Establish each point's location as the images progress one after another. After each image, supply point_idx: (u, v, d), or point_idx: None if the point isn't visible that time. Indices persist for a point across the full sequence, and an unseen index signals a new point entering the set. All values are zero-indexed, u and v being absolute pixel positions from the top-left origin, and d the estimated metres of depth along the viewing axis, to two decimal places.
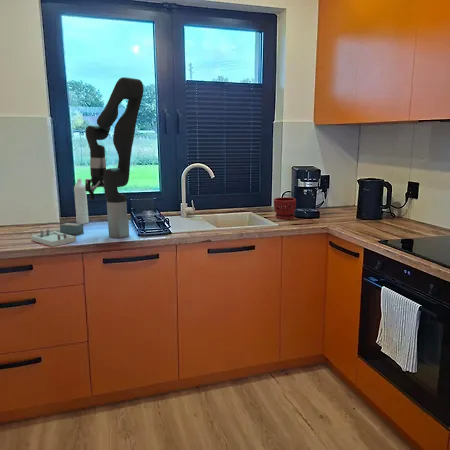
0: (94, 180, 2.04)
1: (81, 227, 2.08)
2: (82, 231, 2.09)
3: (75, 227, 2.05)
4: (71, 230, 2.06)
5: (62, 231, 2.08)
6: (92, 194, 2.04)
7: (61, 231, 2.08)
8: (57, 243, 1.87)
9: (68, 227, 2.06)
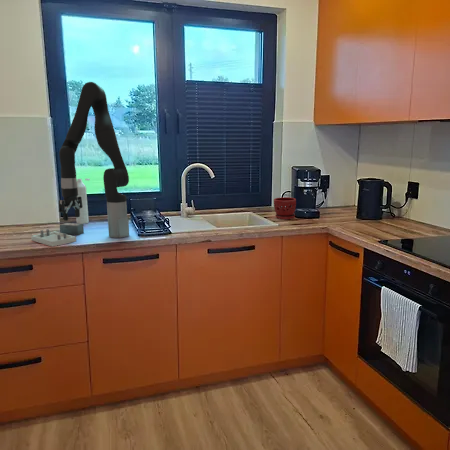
0: None
1: (81, 227, 2.08)
2: (82, 231, 2.09)
3: (76, 227, 2.05)
4: (72, 230, 2.06)
5: (62, 231, 2.07)
6: None
7: (61, 231, 2.07)
8: (57, 243, 1.87)
9: (68, 227, 2.06)
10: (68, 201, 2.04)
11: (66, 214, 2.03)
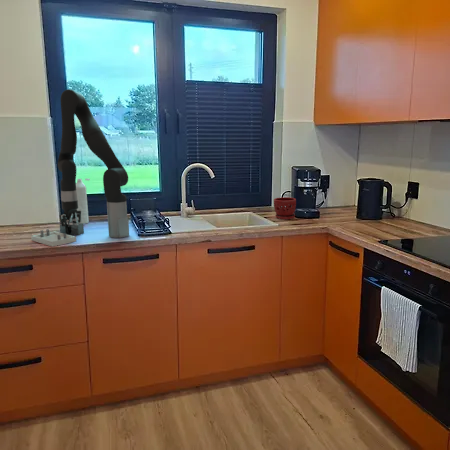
0: None
1: (82, 226, 2.08)
2: (82, 230, 2.09)
3: (76, 226, 2.05)
4: (72, 230, 2.06)
5: (62, 231, 2.07)
6: None
7: (61, 231, 2.07)
8: (57, 243, 1.87)
9: None
10: (68, 215, 2.04)
11: (68, 228, 2.05)
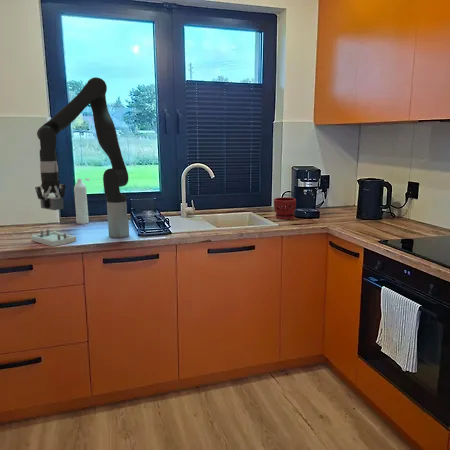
0: None
1: (60, 201, 1.92)
2: (62, 206, 1.92)
3: (52, 200, 1.89)
4: (49, 204, 1.90)
5: (42, 204, 1.94)
6: None
7: (41, 204, 1.94)
8: (57, 243, 1.87)
9: (47, 200, 1.91)
10: (46, 187, 1.89)
11: (46, 201, 1.90)
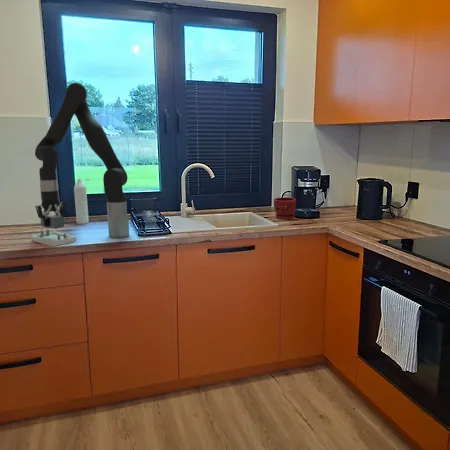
0: None
1: (60, 219, 1.91)
2: (62, 224, 1.92)
3: (53, 219, 1.89)
4: (50, 222, 1.90)
5: (42, 223, 1.93)
6: None
7: (41, 223, 1.93)
8: (57, 243, 1.87)
9: None
10: (46, 206, 1.89)
11: (46, 220, 1.90)
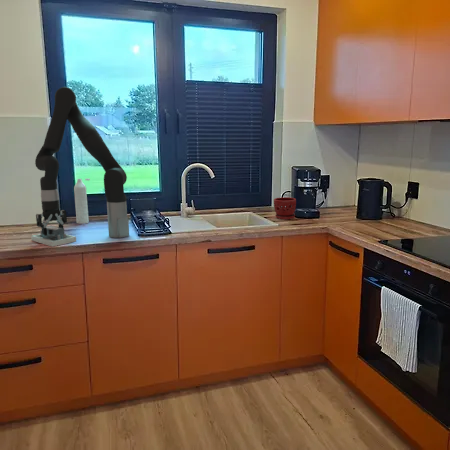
0: None
1: (61, 231, 1.92)
2: (63, 236, 1.93)
3: (53, 231, 1.90)
4: (50, 234, 1.91)
5: None
6: None
7: None
8: (57, 243, 1.87)
9: (48, 231, 1.92)
10: (47, 215, 1.89)
11: (45, 229, 1.90)
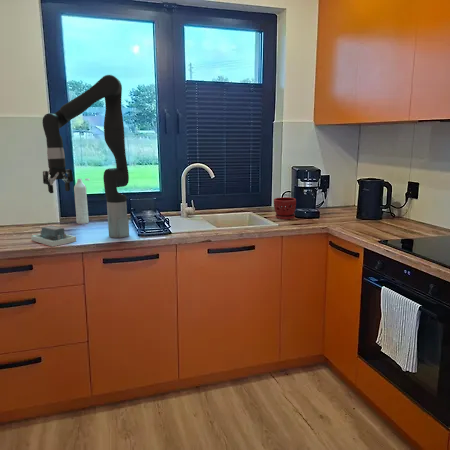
0: None
1: (61, 231, 1.92)
2: (63, 236, 1.93)
3: (53, 231, 1.90)
4: (50, 234, 1.91)
5: (43, 234, 1.94)
6: None
7: (43, 234, 1.95)
8: (57, 243, 1.87)
9: (48, 231, 1.92)
10: (53, 172, 1.93)
11: (51, 186, 1.93)
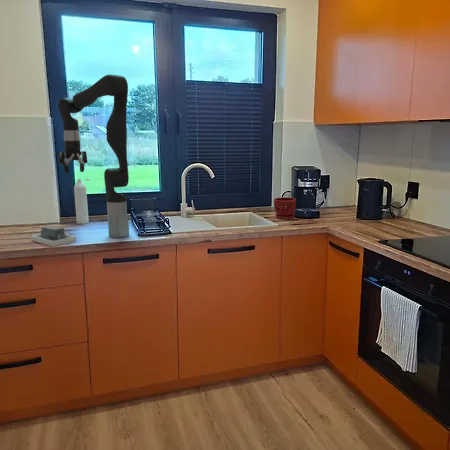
0: None
1: (61, 231, 1.92)
2: (63, 236, 1.93)
3: (53, 231, 1.90)
4: (50, 234, 1.91)
5: (43, 234, 1.94)
6: None
7: (43, 234, 1.95)
8: (57, 243, 1.87)
9: (48, 231, 1.92)
10: (69, 154, 2.05)
11: (66, 166, 2.05)
